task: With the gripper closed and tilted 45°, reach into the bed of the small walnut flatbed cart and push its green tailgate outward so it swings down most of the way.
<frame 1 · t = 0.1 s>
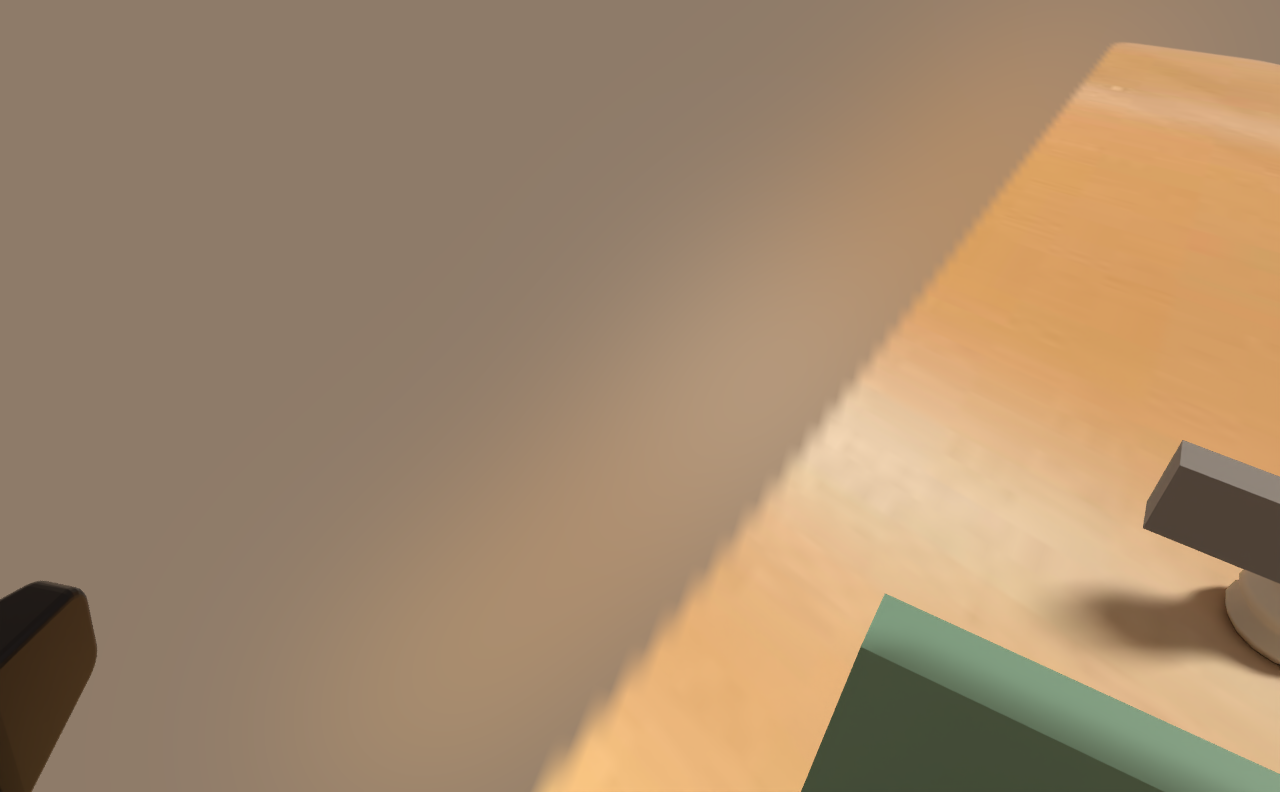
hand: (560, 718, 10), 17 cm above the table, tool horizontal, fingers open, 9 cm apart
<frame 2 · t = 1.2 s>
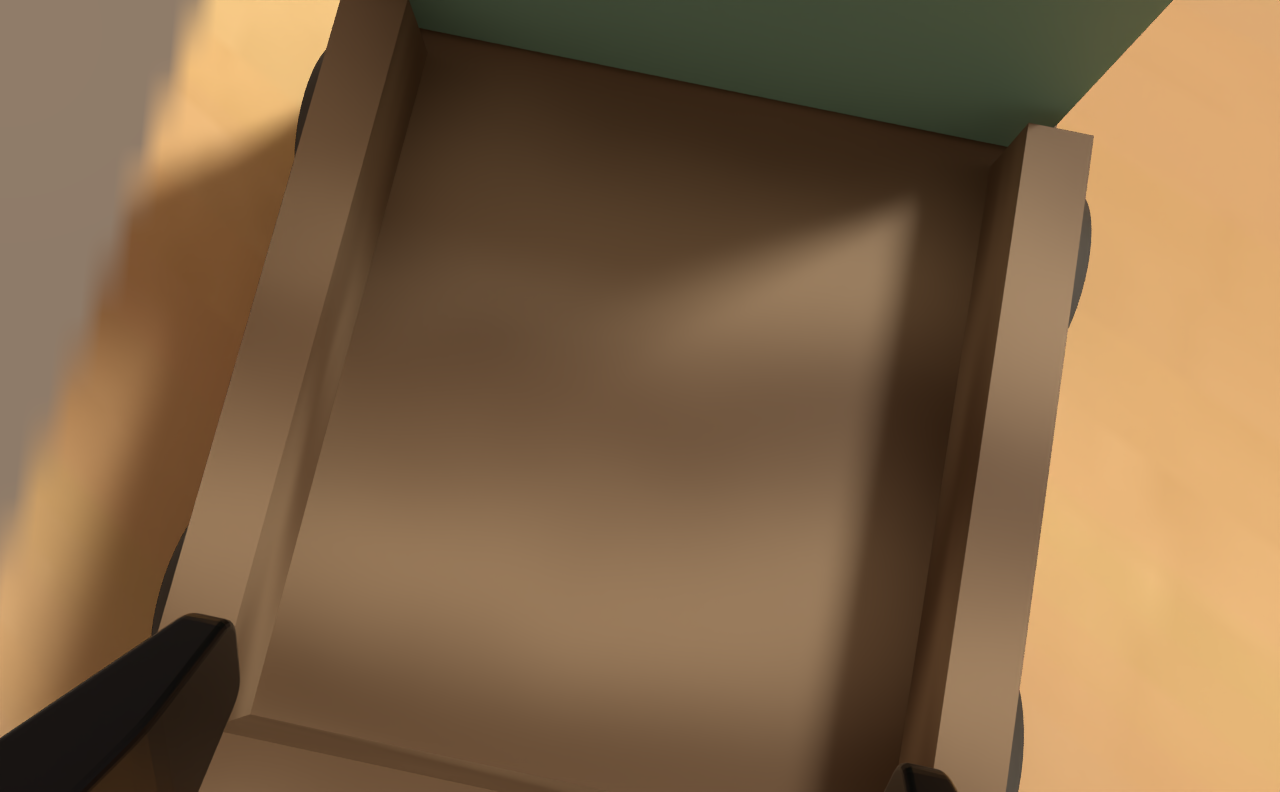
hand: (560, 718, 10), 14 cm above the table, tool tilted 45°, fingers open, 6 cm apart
cart: (639, 444, 24), on the table
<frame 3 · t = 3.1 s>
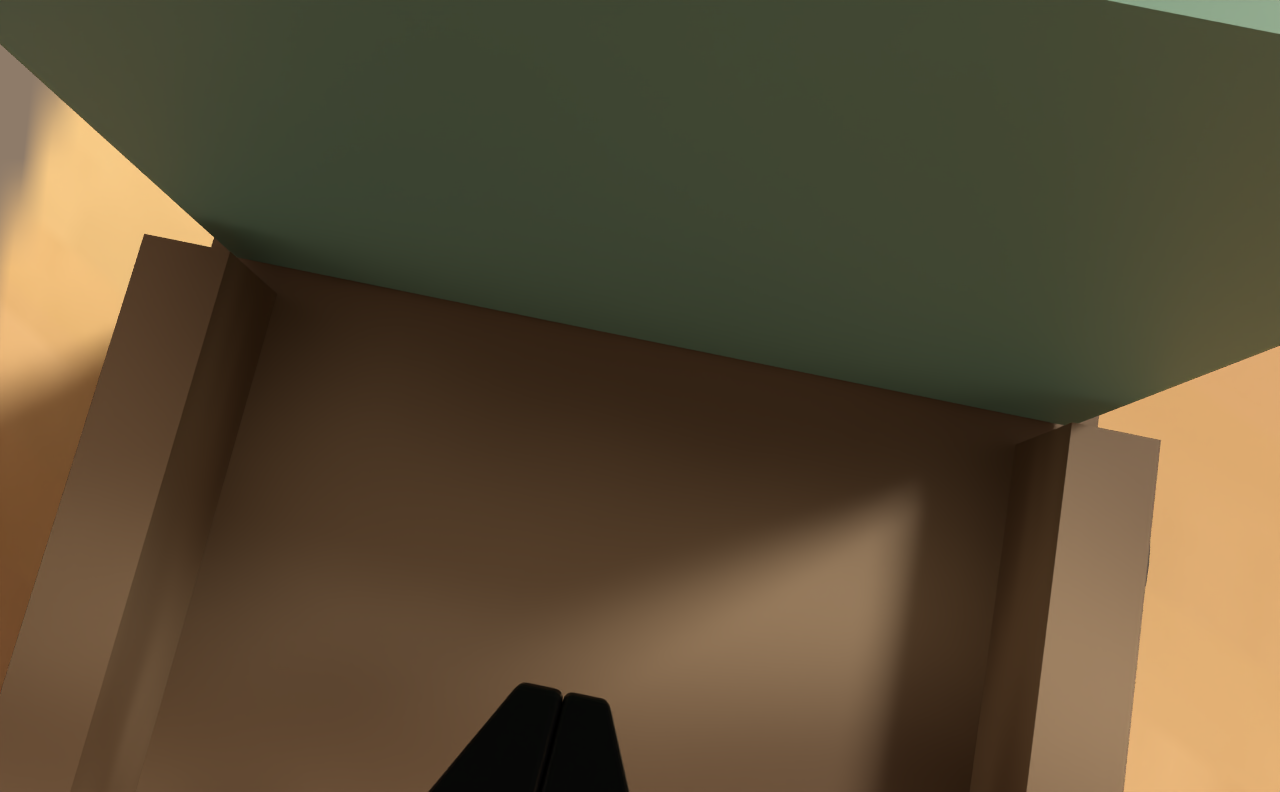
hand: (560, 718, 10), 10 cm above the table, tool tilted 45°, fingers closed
cart: (567, 758, 19), on the table
tailgate: (693, 58, 9), point 11 cm above the table, hinge at 0.0°
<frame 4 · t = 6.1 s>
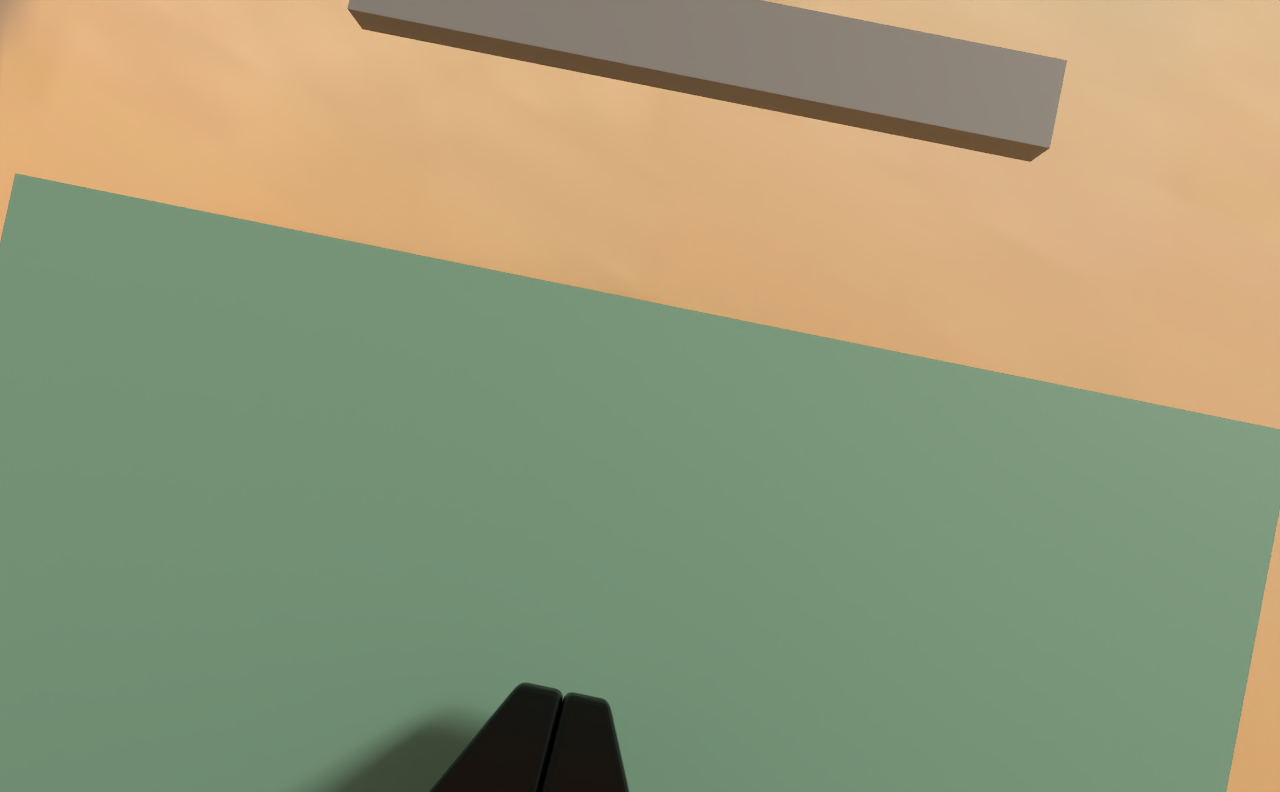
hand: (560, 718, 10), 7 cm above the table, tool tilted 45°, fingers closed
tailgate: (589, 597, 11), point 5 cm above the table, hinge at 80.5°
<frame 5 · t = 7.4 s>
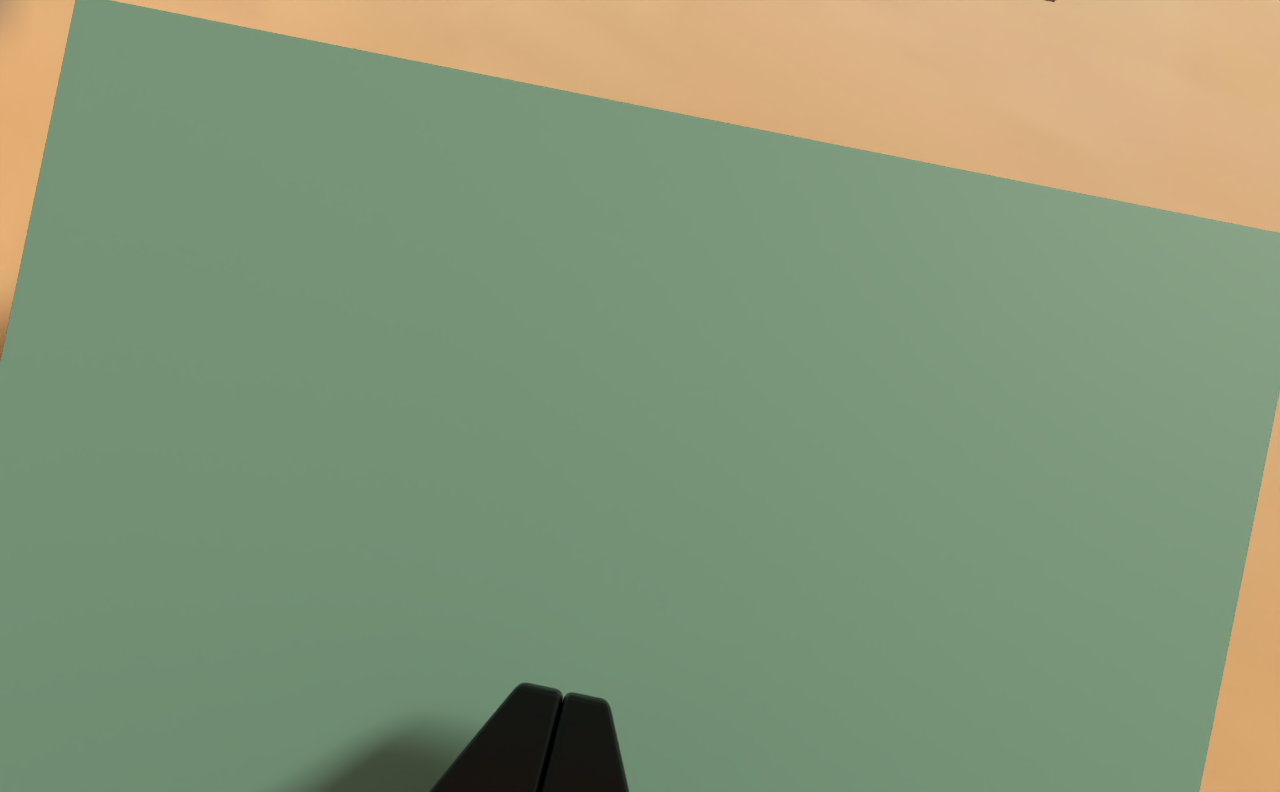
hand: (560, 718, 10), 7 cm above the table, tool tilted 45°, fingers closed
tailgate: (628, 413, 12), point 5 cm above the table, hinge at 80.5°
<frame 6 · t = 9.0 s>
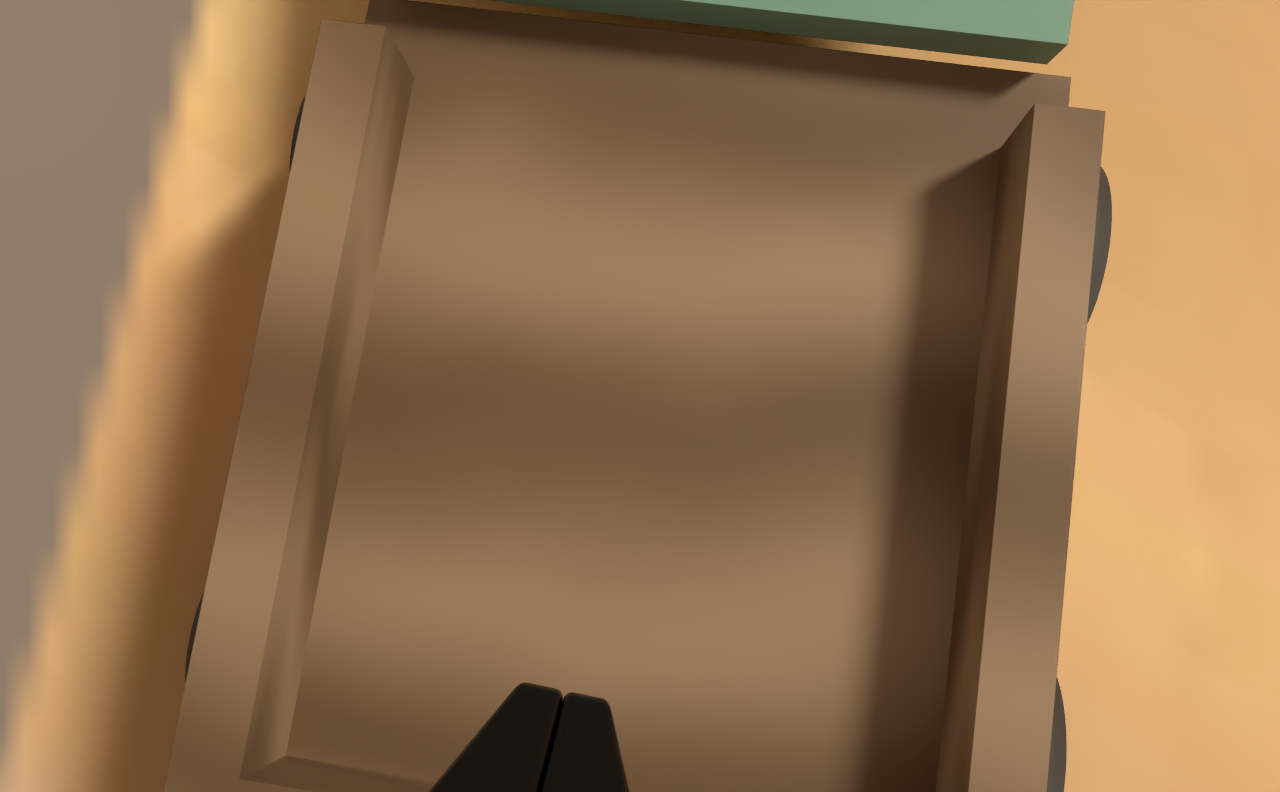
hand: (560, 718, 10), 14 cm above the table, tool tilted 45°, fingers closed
cart: (660, 453, 23), on the table
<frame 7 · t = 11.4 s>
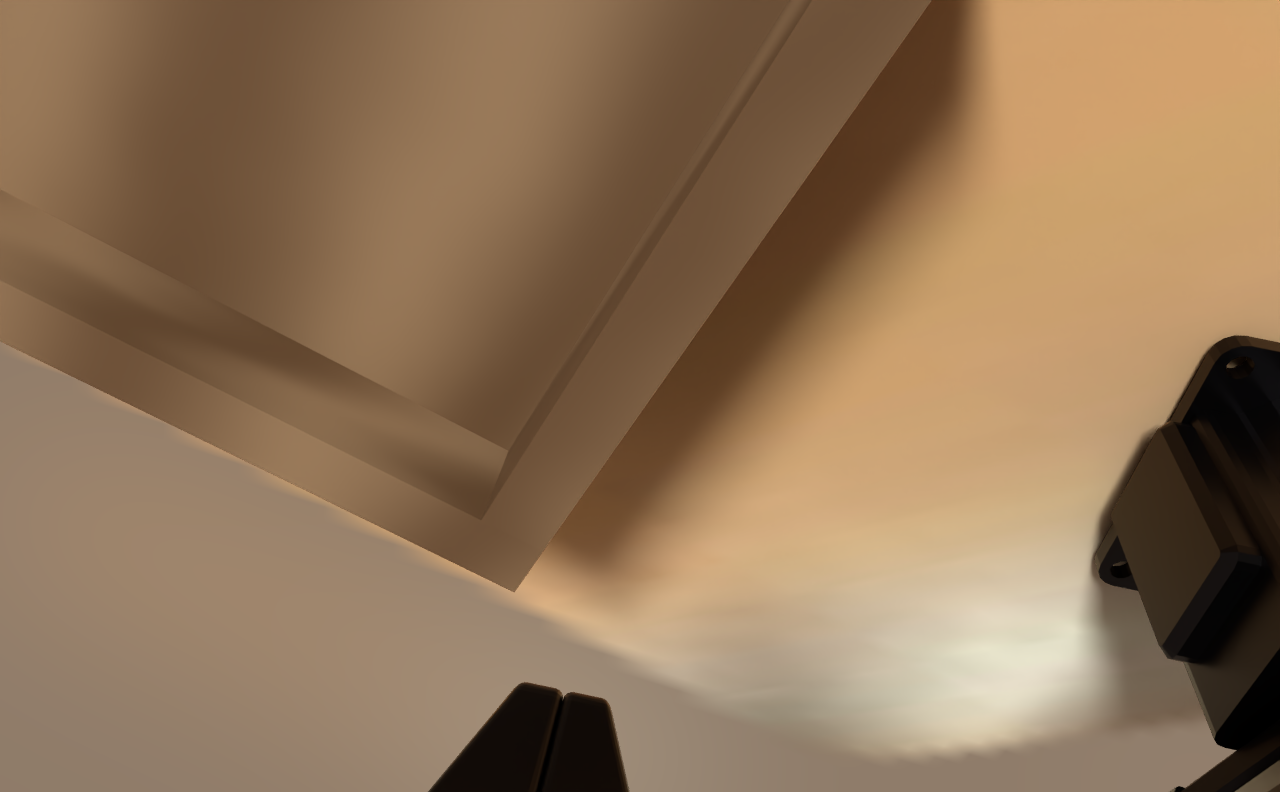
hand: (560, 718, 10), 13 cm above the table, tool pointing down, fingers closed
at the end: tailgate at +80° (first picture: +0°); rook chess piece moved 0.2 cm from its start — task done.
